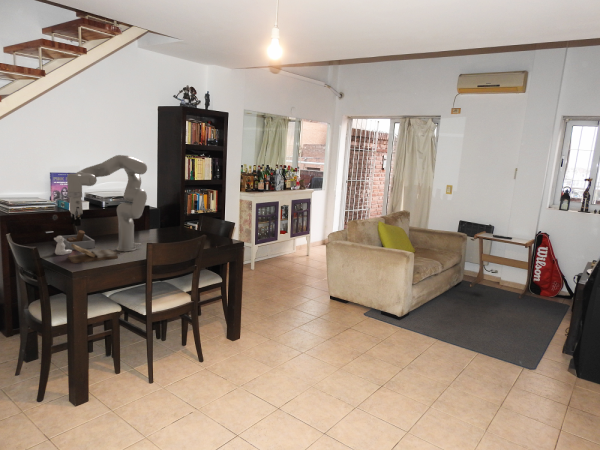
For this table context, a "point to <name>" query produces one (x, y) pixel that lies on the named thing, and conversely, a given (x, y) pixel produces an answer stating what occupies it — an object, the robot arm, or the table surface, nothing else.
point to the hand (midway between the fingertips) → (75, 224)
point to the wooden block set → (79, 237)
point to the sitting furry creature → (61, 246)
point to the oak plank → (83, 250)
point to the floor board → (98, 256)
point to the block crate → (85, 243)
